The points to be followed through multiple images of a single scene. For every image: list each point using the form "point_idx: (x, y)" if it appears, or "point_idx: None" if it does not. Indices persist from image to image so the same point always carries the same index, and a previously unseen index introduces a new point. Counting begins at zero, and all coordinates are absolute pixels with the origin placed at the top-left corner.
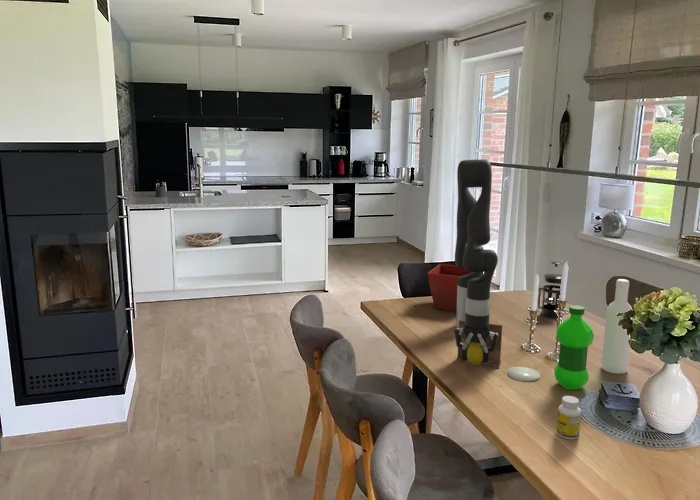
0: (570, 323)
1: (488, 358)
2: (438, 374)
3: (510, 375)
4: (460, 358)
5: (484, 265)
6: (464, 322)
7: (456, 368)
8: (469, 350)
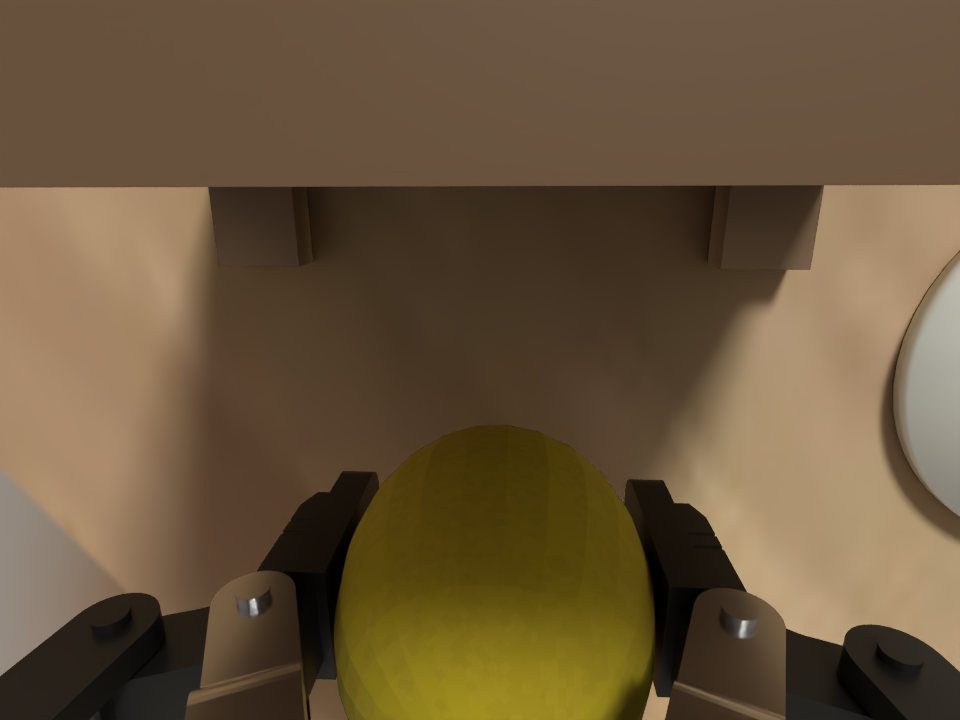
0: None
1: (708, 530)
2: None
3: (937, 493)
4: (261, 226)
5: None
6: None
7: (302, 450)
8: None
